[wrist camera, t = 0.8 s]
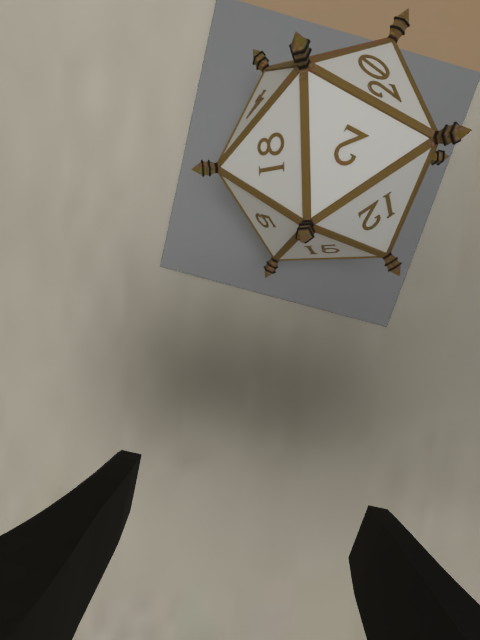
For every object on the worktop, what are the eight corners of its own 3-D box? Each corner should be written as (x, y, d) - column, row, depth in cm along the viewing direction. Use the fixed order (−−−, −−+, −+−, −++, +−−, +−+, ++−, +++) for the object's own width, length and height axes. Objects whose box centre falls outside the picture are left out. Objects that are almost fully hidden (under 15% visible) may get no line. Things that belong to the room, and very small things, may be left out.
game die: (270, 164, 21) (181, -38, 12) (441, 141, 18) (488, -157, 9) (248, 316, 19) (121, 200, 10) (441, 321, 16) (504, 157, 7)
